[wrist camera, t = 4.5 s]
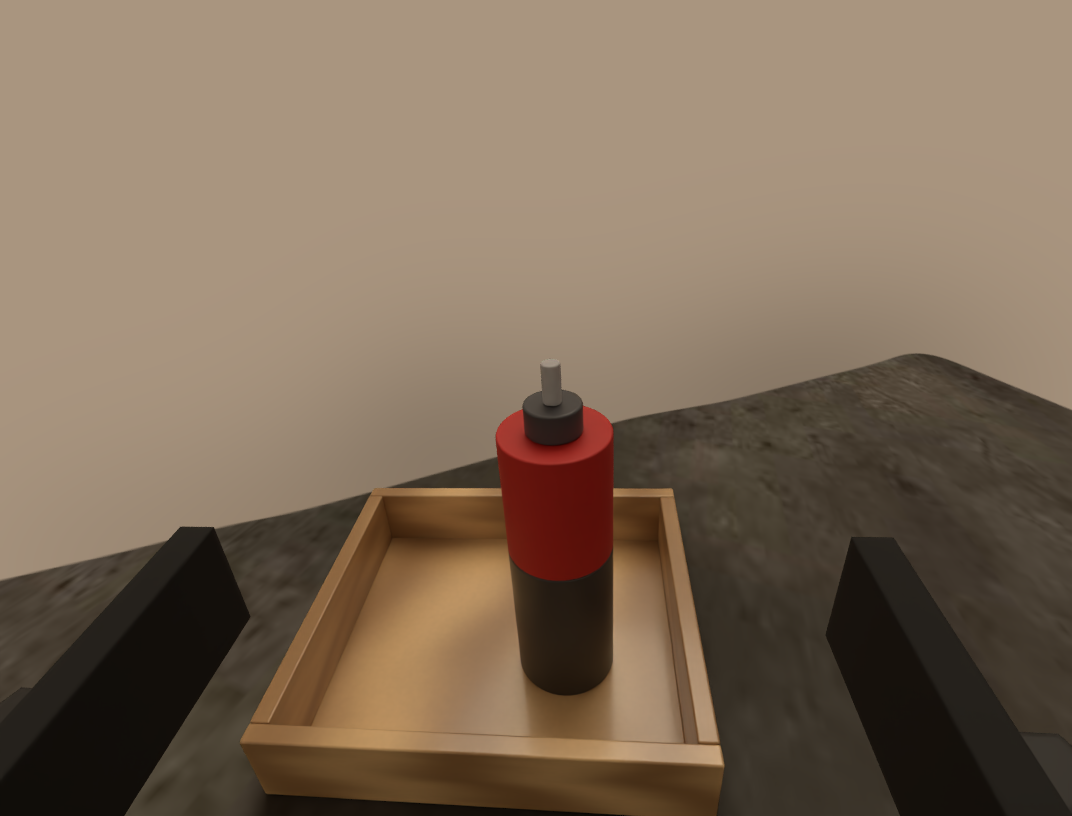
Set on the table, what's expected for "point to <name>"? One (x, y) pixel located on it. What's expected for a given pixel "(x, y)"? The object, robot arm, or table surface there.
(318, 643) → the storage box
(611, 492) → the red squeeze bottle
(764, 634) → the table surface
